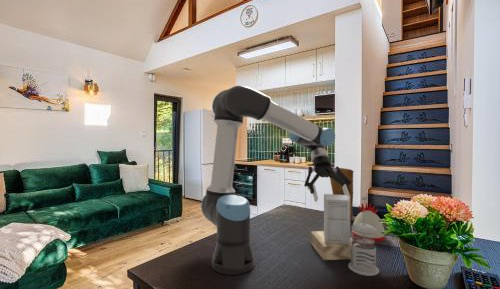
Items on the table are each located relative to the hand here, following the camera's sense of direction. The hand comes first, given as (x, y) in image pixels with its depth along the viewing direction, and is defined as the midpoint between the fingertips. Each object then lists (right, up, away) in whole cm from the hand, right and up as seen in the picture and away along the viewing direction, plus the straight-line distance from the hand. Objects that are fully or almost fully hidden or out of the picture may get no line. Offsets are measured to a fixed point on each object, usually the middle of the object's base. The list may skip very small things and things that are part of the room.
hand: (332, 199), depth 104 cm
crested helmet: (+20, -19, +12) cm, 31 cm away
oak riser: (-1, -19, -3) cm, 20 cm away
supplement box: (0, -15, -4) cm, 15 cm away
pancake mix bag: (+18, -19, +40) cm, 48 cm away
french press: (+4, -20, -16) cm, 26 cm away
